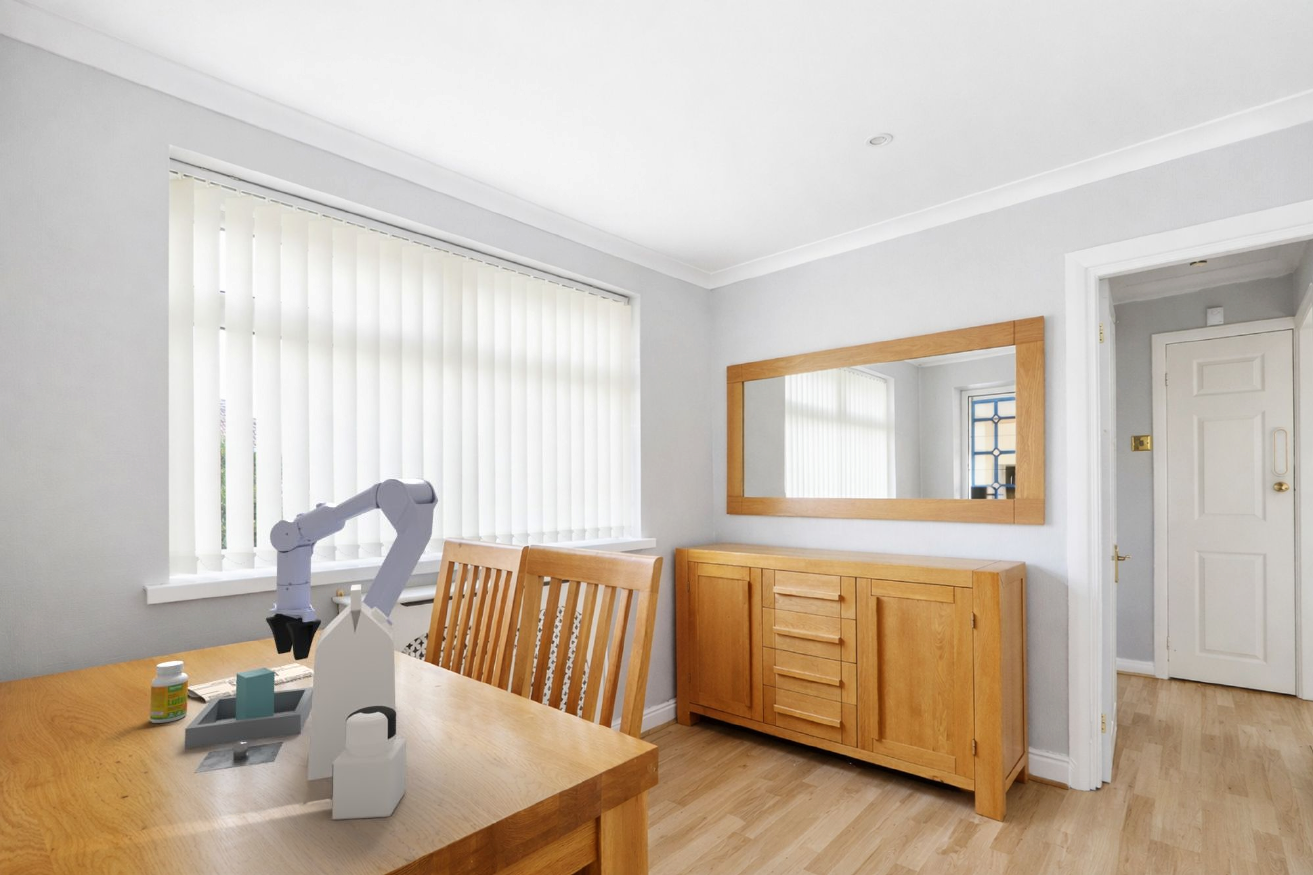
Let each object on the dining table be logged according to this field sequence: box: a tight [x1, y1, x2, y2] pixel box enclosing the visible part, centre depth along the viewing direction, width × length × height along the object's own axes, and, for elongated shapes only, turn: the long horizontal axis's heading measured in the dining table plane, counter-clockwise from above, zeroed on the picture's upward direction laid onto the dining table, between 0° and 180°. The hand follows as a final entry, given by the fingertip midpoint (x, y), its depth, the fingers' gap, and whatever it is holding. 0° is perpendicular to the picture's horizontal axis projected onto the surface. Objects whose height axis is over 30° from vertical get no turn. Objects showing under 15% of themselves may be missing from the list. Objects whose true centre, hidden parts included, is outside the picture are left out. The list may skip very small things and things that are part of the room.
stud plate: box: [193, 740, 284, 774], centre depth 100 cm, size 10×8×3 cm
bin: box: [184, 686, 313, 750], centre depth 114 cm, size 16×16×4 cm
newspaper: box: [187, 662, 314, 704], centre depth 141 cm, size 23×12×2 cm, turn 146°
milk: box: [307, 583, 397, 782], centre depth 100 cm, size 12×12×26 cm
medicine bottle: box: [331, 706, 407, 821], centre depth 87 cm, size 7×7×12 cm
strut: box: [235, 667, 275, 720], centre depth 114 cm, size 4×4×9 cm
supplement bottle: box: [149, 660, 189, 724], centre depth 121 cm, size 5×5×10 cm
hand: (292, 655), depth 126 cm, fingers open, 7 cm apart
